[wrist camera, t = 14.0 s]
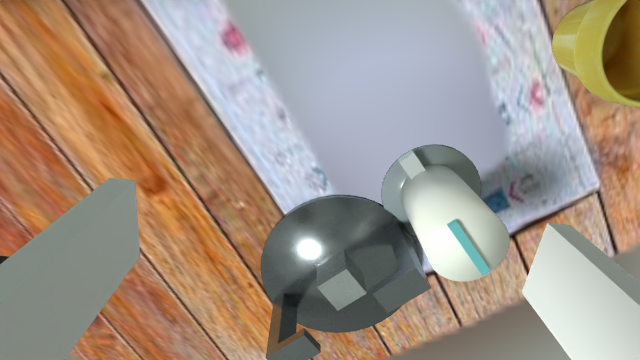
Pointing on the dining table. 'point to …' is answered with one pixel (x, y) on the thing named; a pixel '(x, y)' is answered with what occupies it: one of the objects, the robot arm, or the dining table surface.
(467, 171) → the coaster
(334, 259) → the grey hook stand
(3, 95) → the dining table surface
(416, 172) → the white teal-striped cylinder
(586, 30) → the plant pot
